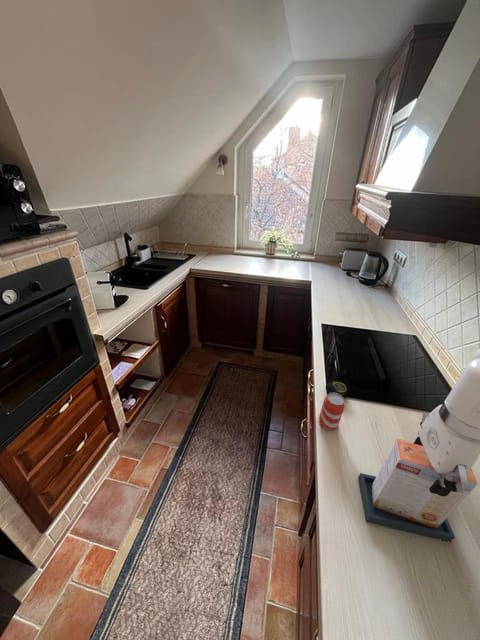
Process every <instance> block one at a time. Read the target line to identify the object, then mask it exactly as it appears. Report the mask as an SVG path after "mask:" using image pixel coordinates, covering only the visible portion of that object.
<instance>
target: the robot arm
mask: <svg viewBox="0 0 480 640" xmlns="http://www.w3.org/2000/svg"><path fill="white" fill-rule="evenodd" d="M413 443H414V444H417V445H420V446H423V447H424V449H425V451H426V454H427V456H428V458H429V460H430V462H431V464H432V466H433V468H434V469H435V470H436V471H437V472H438V473H440V480H438V479H437V480H436V481H435V482H434V483H433V484H432V486H431V487H430V489H429V490H430V493H434V494H438V495H439V496H443V497H445V496H448V494H449V493H450V492H451V491H452V492H456V493H461V494H468V495H470V494H471V493H472V491H470V486H469V482H468V478H467V472H468V471H469V470H470V469H472V467H473V466H474V465H475V464H476V462H477V460H478V459H479V457H480V348H478V349H477V351H476V352H475V353H474V355H473V356H472V360H471V361H469V362H468V364H467V365H466V367H464V370H463V371H462V372H461V374H460V375H459V377H458V379H457V381H456V382H455V384H454V385H453V387H452V389H451V390H450V392H449V393H448V395H447V397H446V398H445V400H444V401H443V403H442V404H439V405H437V406H436V407H435V408H433V410H432V411H431V412H430V413H428V412H423V413H422V417H421V421H420V422H419V428H418V430H417V436H416V438H415V440H414V442H413ZM447 474H449V475H452V481H449V480H446V478H447Z"/></svg>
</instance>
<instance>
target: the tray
mask: <svg viewBox="0 0 480 640" xmlns="http://www.w3.org/2000/svg"><path fill="white" fill-rule="evenodd" d="M376 476H377V475H376ZM376 476H375V475H371V474H367V473H361V472H360V473H359V475H358V477H357V481H358V486H359V491H360V496H361V502H362V507H363V512H364V513H363V514H364V517H365V518H364V519H365V522H366V523H369V524H374V525H376V526H377V525H378V526H382V527H385V528H389V529H394V530H397V531H402V532H405V533H410V534H415V535H419V536H423V537H427V538H430V537H431V538H430V539H435V538H436V539H435V540H439V539H441V540H440V541H443V540H445V541H444V542H447V541H449V542H448V543H452V541H454V540H455V539H456V536H455V534H454V531H453V529H452V527H451V524H450V522H449V520H448V517H447V518H446V519H445V520H444V521H443V522H442V523H441V524H440V526H439V527H438V528H437V529H436V530H435V529H431V528H428V527H426V526H423V525H420V524H418V523H415V522H412V521H410V520H407V519H404V518H402V517H399V516H396V515H393V514H391V513H388V512H385V511H383V510H380V509H377V508H375V507H373V499H372V484H373V482H374V480H375V478H376Z"/></svg>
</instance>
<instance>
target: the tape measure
mask: <svg viewBox="0 0 480 640" xmlns="http://www.w3.org/2000/svg"><path fill="white" fill-rule="evenodd" d="M325 390H326V391H327V392H328V394H329V393H337V394H340V395H341V396H342V397H343V398H344V399H345V397H346V396H348V387H347V386H346V384H345V383H343V382H342V381H338V380H333V381H331V382H329V383H327V384H326V385H325Z"/></svg>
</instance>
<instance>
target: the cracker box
mask: <svg viewBox="0 0 480 640" xmlns="http://www.w3.org/2000/svg"><path fill="white" fill-rule="evenodd" d="M467 478H468V482H469V486H470V491H471V492H472V491H473V490H474V489H475V488H476V487H477V486H478V481H477V479H476V476H475V473H474V471H473V469H472V468H471V469H470V470H469V471H468V472H467ZM437 479H438V480H440V473H438V472H437V471H436V470H435V469H434V468H433V466H432V464H431V462H430V460H429V458H428V456H427V454H426V451H425V449H424V447H423V446H420V445H417V444H414V442H410V441H407V440H403V439H400V438H396V439H395V440H394V442H393V444H392V446H391V448H390V449H389V452H388V454H387V455H386V457H385V459H384V461H383V463H382V465H381V467H380V469H379V471H378V473H377V475H376V478H375V480H374V482H373V484H372V499H373V507H375V508H377V509H380V510H383V511H385V512H388V513H391V514H393V515H396V516H399V517H402V518H404V519H407V520H410V521H412V522H415V523H418V524H420V525H423V526H426V527H428V528H431V529H435V530H436V529H437V528H438V527H439V526H440V524H441V523H442V522H443V521H444V520H445V519H446V518H447V519H448V517H449V516H450V515H451V514H452V513H453V512H454V511H455V509H457V507H459V506H460V504H461V503H462V502H463V501H464V500H465V498H467V497H468V495H469V494H461V493H456V492H452V491H451V492H450V493H449V494H448V496H445V497H443V496H439V495H438V494H434V493H430V490H429V489H430V487H431V486H432V484H433V483H434V482H435V481H436V480H437ZM446 480H449V481H452V475H449V474H447V478H446Z"/></svg>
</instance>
